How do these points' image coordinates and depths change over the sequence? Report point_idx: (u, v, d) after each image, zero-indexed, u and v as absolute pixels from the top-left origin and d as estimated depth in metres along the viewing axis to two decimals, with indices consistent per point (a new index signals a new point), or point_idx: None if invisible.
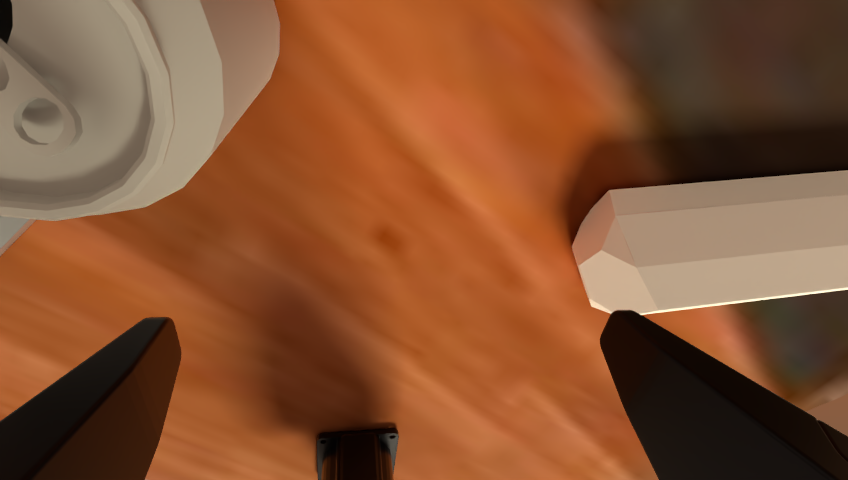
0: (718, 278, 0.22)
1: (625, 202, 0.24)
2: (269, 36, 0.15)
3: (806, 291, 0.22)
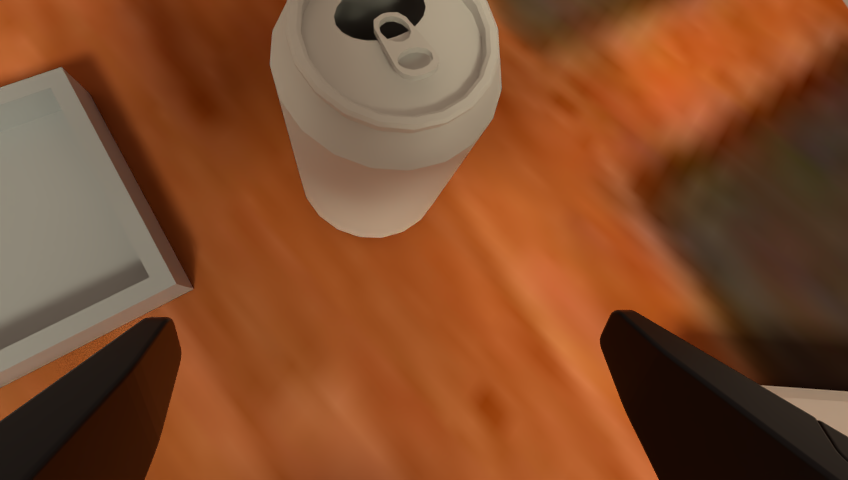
0: None
1: None
2: None
3: None
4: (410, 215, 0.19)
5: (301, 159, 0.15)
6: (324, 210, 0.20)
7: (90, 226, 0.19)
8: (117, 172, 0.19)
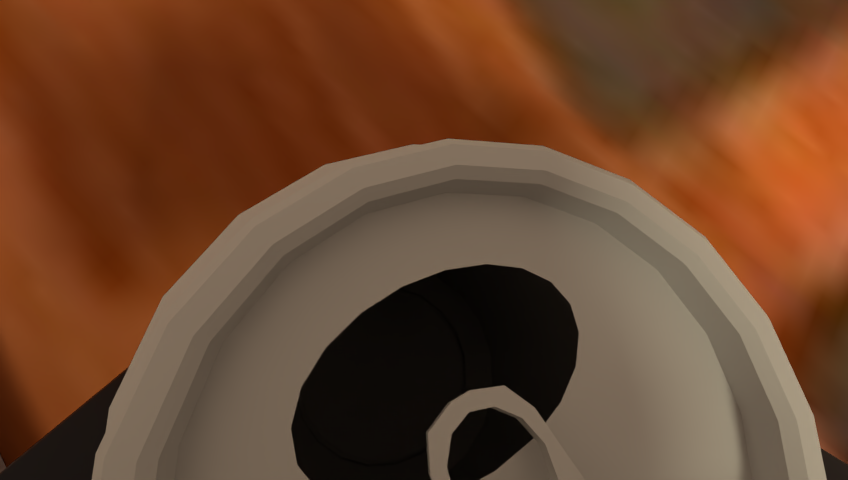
0: None
1: None
2: None
3: None
4: None
5: None
6: None
7: None
8: None
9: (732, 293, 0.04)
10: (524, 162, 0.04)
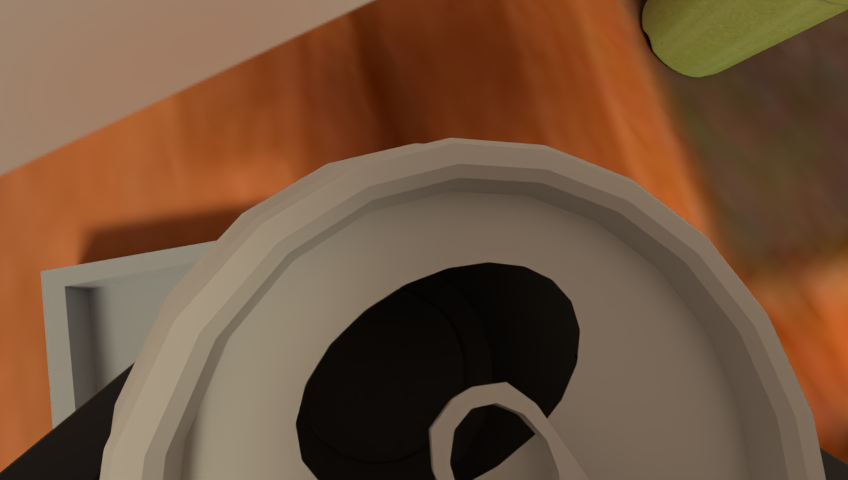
0: None
1: None
2: None
3: None
4: None
5: None
6: None
7: None
8: None
9: (732, 291, 0.04)
10: (526, 161, 0.04)
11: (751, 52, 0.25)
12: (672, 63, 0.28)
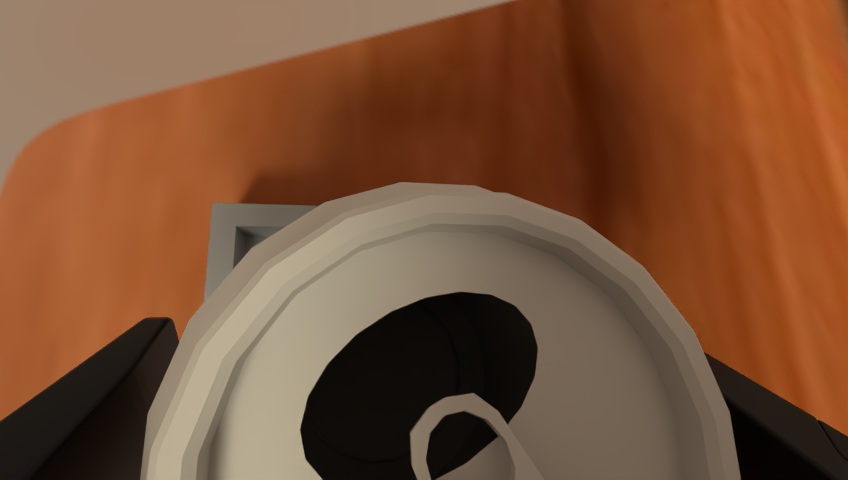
0: None
1: None
2: (511, 406, 0.13)
3: None
4: None
5: None
6: None
7: None
8: None
9: (664, 314, 0.05)
10: (490, 208, 0.05)
11: None
12: None
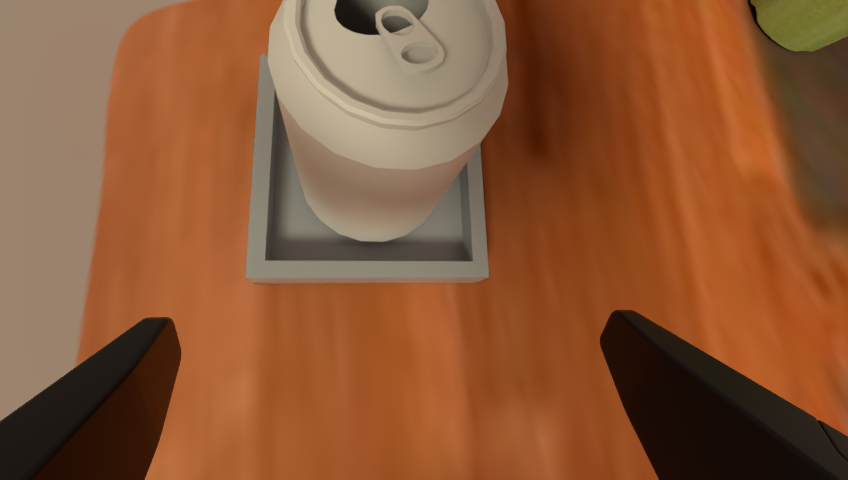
0: None
1: None
2: None
3: None
4: (413, 218, 0.18)
5: (301, 160, 0.15)
6: (325, 214, 0.19)
7: None
8: (481, 169, 0.22)
9: None
10: None
11: None
12: (773, 33, 0.31)
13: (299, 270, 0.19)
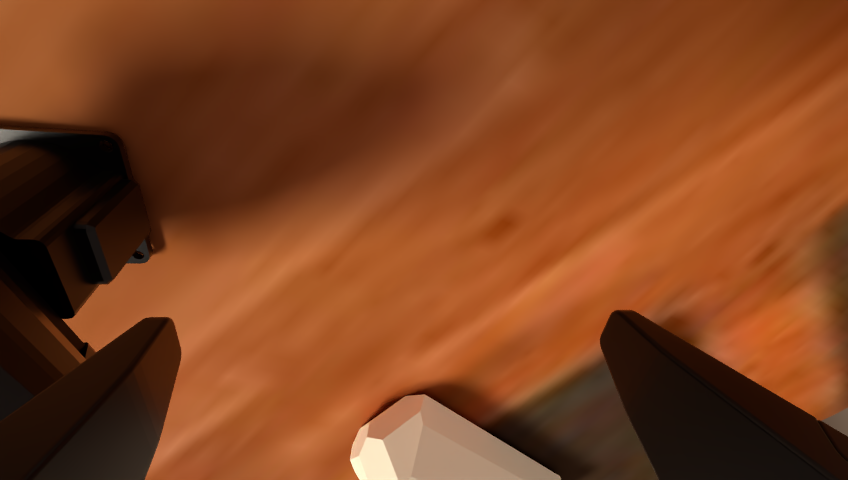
0: None
1: None
2: None
3: None
4: None
5: None
6: None
7: None
8: None
9: None
10: None
11: None
12: None
13: None
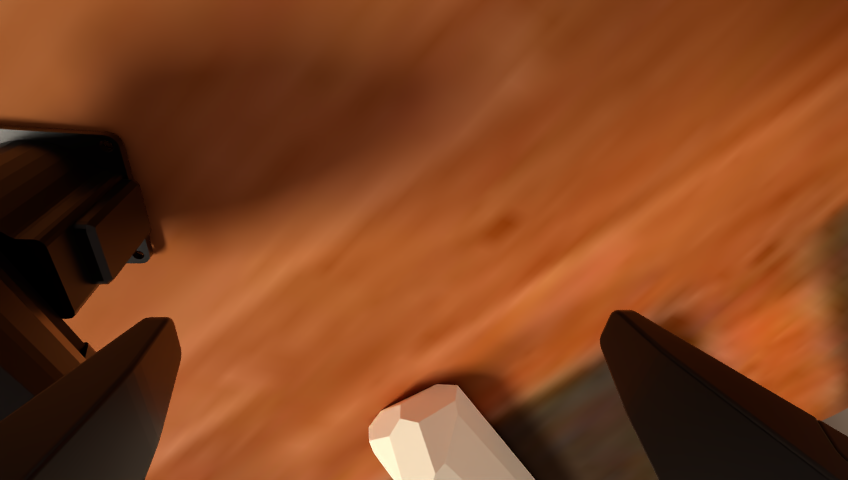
0: None
1: None
2: None
3: None
4: None
5: None
6: None
7: None
8: None
9: None
10: None
11: None
12: None
13: None
